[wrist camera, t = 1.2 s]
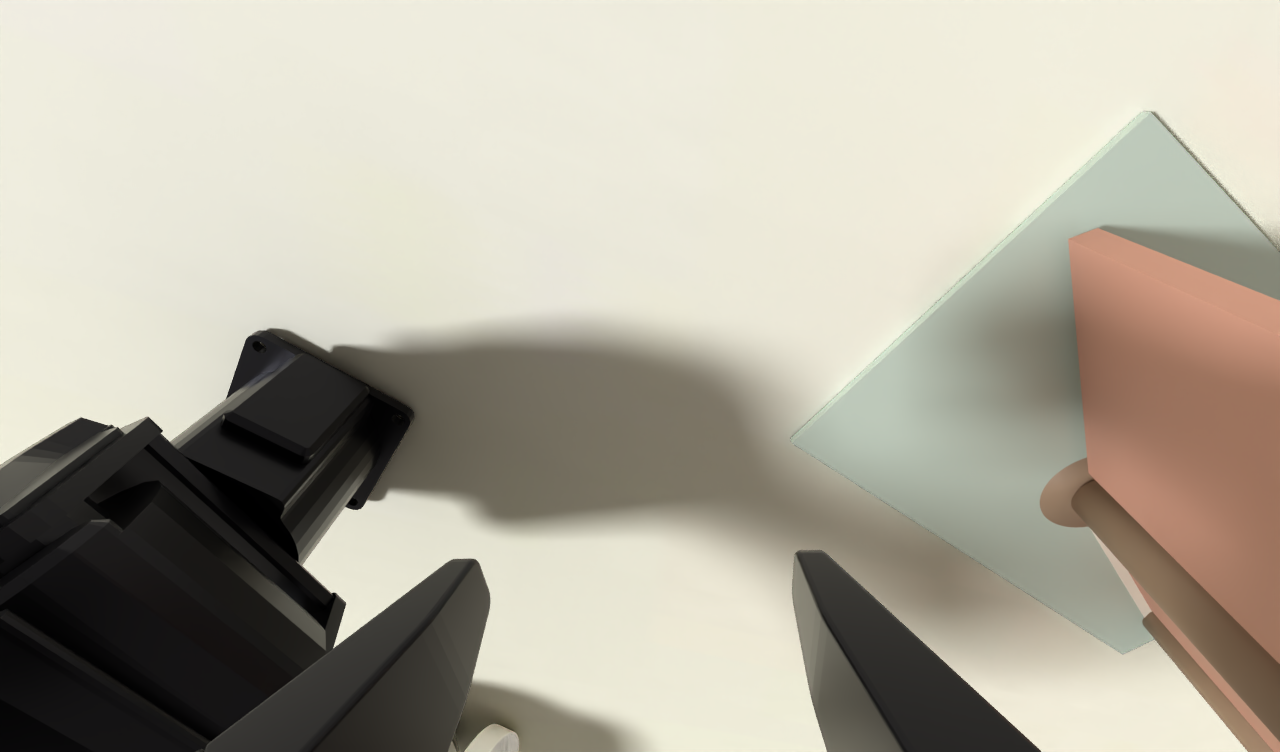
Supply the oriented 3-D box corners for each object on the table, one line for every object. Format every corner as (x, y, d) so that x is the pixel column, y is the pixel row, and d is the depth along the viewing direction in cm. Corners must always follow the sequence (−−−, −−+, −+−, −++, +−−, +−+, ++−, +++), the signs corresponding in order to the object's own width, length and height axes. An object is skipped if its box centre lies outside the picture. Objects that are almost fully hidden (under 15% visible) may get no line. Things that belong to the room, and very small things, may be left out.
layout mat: (1118, 648, 27) (1123, 655, 27) (790, 438, 22) (791, 443, 21) (1478, 473, 21) (1490, 479, 20) (1143, 110, 15) (1153, 111, 15)
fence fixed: (1153, 630, 26) (1369, 888, 18) (982, 515, 23) (1151, 765, 15) (1277, 569, 24) (1593, 836, 16) (1105, 431, 21) (1389, 675, 12)
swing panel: (1127, 506, 22) (1375, 751, 14) (1073, 520, 22) (1283, 763, 15) (1115, 217, 16) (1516, 362, 8) (1042, 244, 17) (1357, 404, 9)
